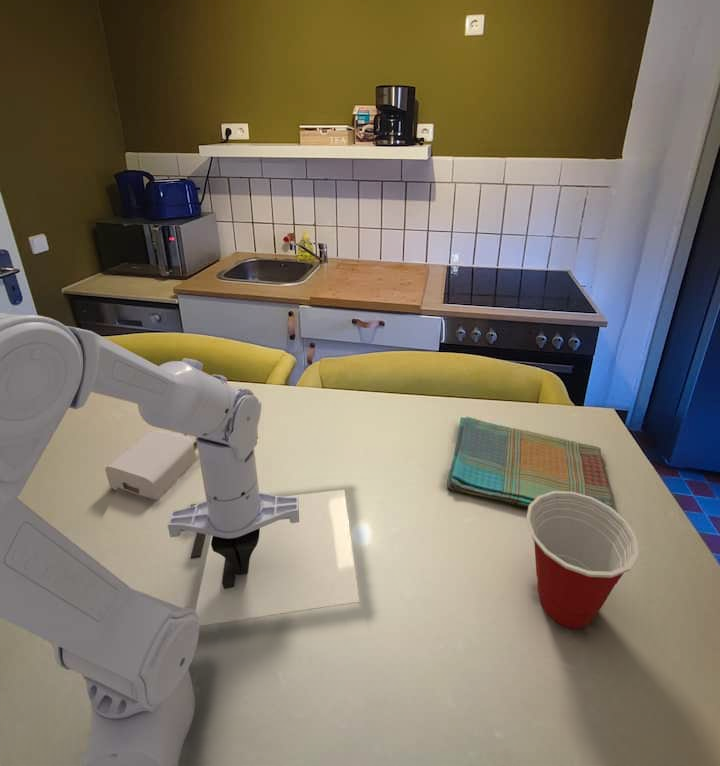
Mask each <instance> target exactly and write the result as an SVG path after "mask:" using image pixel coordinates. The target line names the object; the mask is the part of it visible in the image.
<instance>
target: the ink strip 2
mask: <svg viewBox="0 0 720 766" xmlns="http://www.w3.org/2000/svg"><path fill="white" fill-rule="evenodd" d="M235 574H236V573H235V571H234V569H233V567H232V566H231V564H230V563H229V562H228V561H227V560H226V559H225V563H224V571H223V579H222V584H223V587H224V589H227V588H231V587H234V584H235Z"/></svg>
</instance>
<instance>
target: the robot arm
mask: <svg viewBox="0 0 720 766" xmlns="http://www.w3.org/2000/svg"><path fill="white" fill-rule="evenodd" d="M203 366H204V363H203V362H201V361H199V360H197V359H191V358H187V357H183V358H182V359H181V361H180V360H171V361H167V362H164V363H162V364H160V365H157V364H155V363H153V362H150V361H149V360H148V359H146V358H144V357H142V356H140V355H138V354H136V353H134V352H132V351H130V350H128V349H126V348H124V347H123V346H121V345H118V344H117V343H115V342H113V341H111V340H110V339H107V338H105V337H103V335H102V336H101V335H100V334H98V333H96V332H94V331H92V330H88V329H83V328H80V327H75V326H69V325H64V324H63V323H61V321H59V320H56V319H53V318H52V317H48V316H43V315H39V314H11V313H6V312H1V311H0V619H1V620H4V621H5V622H7V623H10V624H12V625H13V626H16V627H18V628H20V629H22V630H24V631H26V632H28V633H30V634H32V635H34V636H36V637H39V638H40V639H42V640H45V641H47V642H48V643H50V644H51V646H52V647H53V652H54V659H55V662H56V664H57V665H58V666H59V667H60V668H62V669H64V670H67V671H70V670H72V671H74V672H76V673H78V674H81V676H82V679H83V680H85V686H86V691H87V695H88V699H89V702H90V710H91V723H90V730H89V731H90V732H89V736H88V737H89V738H88V741H87V745H86V749H85V752H84V756H83V758H82V762H81V765H80V766H179V761H180V757H181V753H182V749H183V746H184V743H185V740H186V738H187V735H188V733H189V731H190V728H191V726H192V723H193V720H194V715H195V712H196V711H195V709H196V697H195V692H194V686H193V682H192V678H191V674H190V670H189V669H190V666H191V663H192V661H193V659H194V657H195V653H196V651H197V646H198V644H199V643H198V642H199V636H200V626H199V619H198V615H197V613H196V612H195V609H193V608H189V607H184V608H183V607H182V606H178V605H175V604H173V603H171V602H168V601H165V600H163V599H160V598H158V597H156V596H153V595H150V594H147V593H145V592H142V591H140V590H137V589H134V588H132V587H130V586H129V585H128V584H127V583H125V582H124V581H123V580H121V578H119V577H118V576H116V574H114V572H113V573H112V572H111V571H110V570H109V569H108V568H106V567H105V566H104V565H102V563H100V562H99V561H98V560H96V559H95V558H93V556H91V555H90V554H88V553H87V552H86V551H85V550H83V549H82V548H81V547H80V546H79V545H77V544H76V543H74V542H73V541H72V540H71V539H70V538H68V537H67V536H66V535H65V534H63V533H62V532H61V531H60V530H58V529H57V528H56V527H55V526H54V525H52V524H50V523H49V522H48V521H47V520H45V519H44V518H43V517H42V516H40V515H39V514H38V513H37V512H35V510H33V509H32V508H30V507H29V506H28V505H27V504H25V503H24V502H23V501H21V500H20V499H19V498H18V497H19V496H20V495H21V493H22V491H23V490H24V488H25V486H26V484H27V482H28V481H29V479H30V476H32V473H33V472H34V470H35V469H36V466H37V465H38V463H39V461H40V459H41V457H42V456H43V454H44V453H45V451H46V448H47V447H48V445H49V444H50V442H51V440H52V438H53V436H54V435H55V433H56V431H57V429H58V428H59V426H60V424H61V422H62V420H63V419H64V417H65V416H66V414H67V412H68V410H69V409H73V410H78V409H81V408H83V407H84V406H85V405H86V403H87V402H88V399H89V397H90V395H91V393H93V394H97V395H100V396H105V397H109V398H113V399H117V400H120V401H124V402H129V403H132V404H137V409H138V413H139V416H140V417H141V419H142V420H143V421H144V422H145V423H146V424H148V425H149V426H151V427H153V428H157V429H160V430H164V431H169V432H171V431H174V432H178V433H182V434H183V435H184V436H187V435H190V436H194V437H197V438H196V446H197V453H198V458H199V464H200V471H201V477H202V482H203V489H204V495H205V500H204V501H202V502H198V503H196V505H194V504H193V505H194V506H191V505H190V506H187V507H185V508H180V509H175V510H171V513H170V517H169V519H168V523H167V528H168V533H169V537H170V538H178V537H180V536H181V534H182V532H187V531H188V532H193V533H196V534H197V533H202V534H206V536H210V537H211V536H212V541H211V546H212V549H213V551H214V552H216V553H218V554H220V555H222V556H223V557H224V558H225V559H226V560H227V561H228V562H229V563H230V564H231V566H232V567H233V569H234V571H235V573H236V575H243V574H248V570H249V561H250V557H251V554H252V552H253V550H254V549H255V547H256V546H257V543H258V540H259V533H260V528H261V527H264V526H266V525H269V524H271V523H273V522H276V521H278V520H283V519H290V522H291V523H297V522H299V499H298V497H283V496H281V495H275V494H271V493H265V492H260V488H259V480H258V471H257V470H258V469H257V461H256V453H255V447H257V445H258V440H259V433H258V430H259V429H258V428H259V423H260V420H261V413H262V401H259V398H257V396H256V395H255V394H254V392H253V391H252V390H251V389H248V388H243V387H238V386H233V385H229V384H228V383H227V381H228V379H227V377H225V376H224V375H220V374H215V373H214V374H212V375H211V374H209V373H207V372H204V371H203V368H204V367H203Z"/></svg>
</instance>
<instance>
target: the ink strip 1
mask: <svg viewBox="0 0 720 766" xmlns="http://www.w3.org/2000/svg"><path fill="white" fill-rule="evenodd" d="M206 536H207V534H202V533H197V532H196V534H195V538H194V542H193V546H192V550H191V554H190V559H196V558H201V557H202V552H203V549H204V544H205V541H206V540H205V539H206Z"/></svg>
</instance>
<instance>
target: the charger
mask: <svg viewBox="0 0 720 766" xmlns="http://www.w3.org/2000/svg"><path fill="white" fill-rule="evenodd" d="M196 438H197V437H194V436H190V435H187V436H184V435H183V434H182V433H178V432H174V431H167V430H164V429H155V430H150V431H148V432H147V433H146V434H145V435H144V436H142V437H141V438H140V439H138V440H137V441H136V442H135V443H134V444H133V445H131V446H130V447H129V448H128V449H126V450H125V451H124V452H122V454H120V455H119V456H118V457H117V458H116V459H114V460H113V461H112V462H111V463H109V464H108V465H107V466H106V467H105V468H104V470H105V473H106V478H107V481H108V485H109V487H110V488H111V489H113V490H114V491H117V490H118V489H121V490H124V491H126V492H130V493H133V494H136V495H139V496H142V497H145V498H148V499H151V500H155V501H158V500H159V499H160V498H161V497H162V496H163V495H164V494H165V492H166V491H167V490H169V489H170V487H171V486H172V485H174V483H176V481H177V480H178V479H179V478H180V477H182V475H183V474H184V473H185V472H186V471H187V470H189V468H190V467H191V466H192V465H194V463H195V462H196V461H197V456H196V451H195V443H197V441H196Z"/></svg>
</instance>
